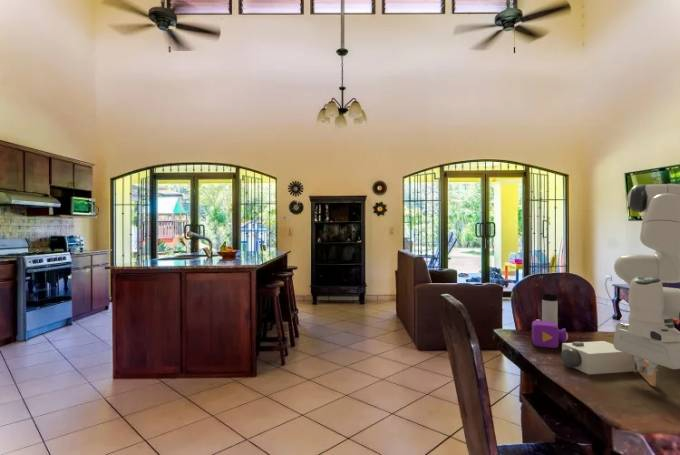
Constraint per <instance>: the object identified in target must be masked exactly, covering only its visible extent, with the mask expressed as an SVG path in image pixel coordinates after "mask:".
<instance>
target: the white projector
mask: <svg viewBox="0 0 680 455" xmlns="http://www.w3.org/2000/svg"><path fill="white" fill-rule="evenodd" d="M560 358H561V362H562V363H563V365H564V366H566V368H573V369H576V370H578V371H580V372H583V373H585V374H587V375H601V374H612V373H614V374H615V373H627V372H629V373H630V372H634V356H633V355H630V354H627V353H624V352H622V351H619V350H616V349H615V348H614V346H613V343H611V342H609V341H605V340H600V341H599V340H597V341H572V342H566V343H563V342H561V353H560Z"/></svg>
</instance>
